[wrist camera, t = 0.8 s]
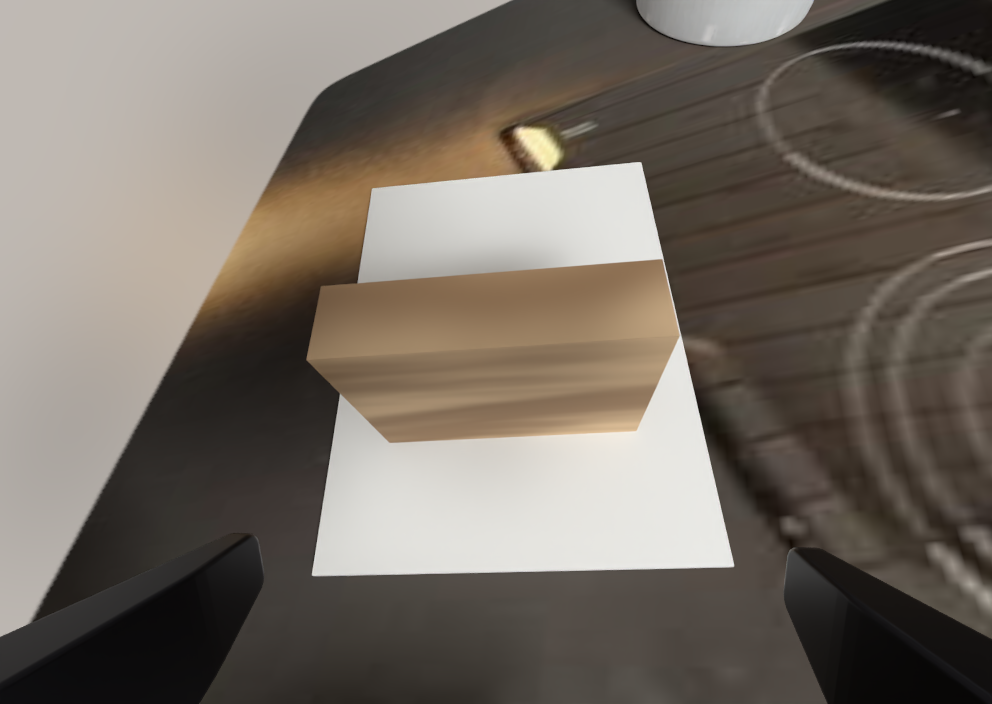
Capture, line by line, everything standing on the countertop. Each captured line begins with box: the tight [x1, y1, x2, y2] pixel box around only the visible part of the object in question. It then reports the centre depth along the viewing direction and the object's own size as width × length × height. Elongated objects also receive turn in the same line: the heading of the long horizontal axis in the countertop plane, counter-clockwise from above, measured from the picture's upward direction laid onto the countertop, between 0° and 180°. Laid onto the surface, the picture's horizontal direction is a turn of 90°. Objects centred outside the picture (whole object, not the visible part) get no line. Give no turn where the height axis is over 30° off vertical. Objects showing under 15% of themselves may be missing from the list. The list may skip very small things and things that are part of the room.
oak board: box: [306, 259, 680, 443], centre depth 20 cm, size 3×12×9 cm, turn 91°
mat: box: [312, 162, 734, 576], centre depth 26 cm, size 24×18×1 cm
